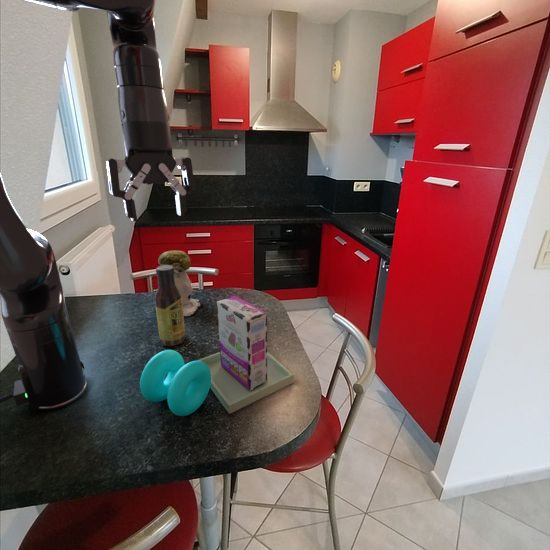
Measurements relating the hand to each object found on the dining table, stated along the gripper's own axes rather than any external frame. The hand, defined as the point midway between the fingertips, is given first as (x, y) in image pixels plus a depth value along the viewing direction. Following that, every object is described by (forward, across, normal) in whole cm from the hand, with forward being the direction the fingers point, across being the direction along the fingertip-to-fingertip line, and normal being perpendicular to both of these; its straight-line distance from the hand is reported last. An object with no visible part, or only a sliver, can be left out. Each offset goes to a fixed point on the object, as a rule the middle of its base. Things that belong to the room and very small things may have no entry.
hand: (158, 217), depth 59 cm
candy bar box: (+34, -11, +10) cm, 37 cm away
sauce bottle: (+34, -3, -12) cm, 36 cm away
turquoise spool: (+34, +3, +10) cm, 36 cm away
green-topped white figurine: (+34, -10, -28) cm, 45 cm away
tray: (+34, -11, +10) cm, 37 cm away
